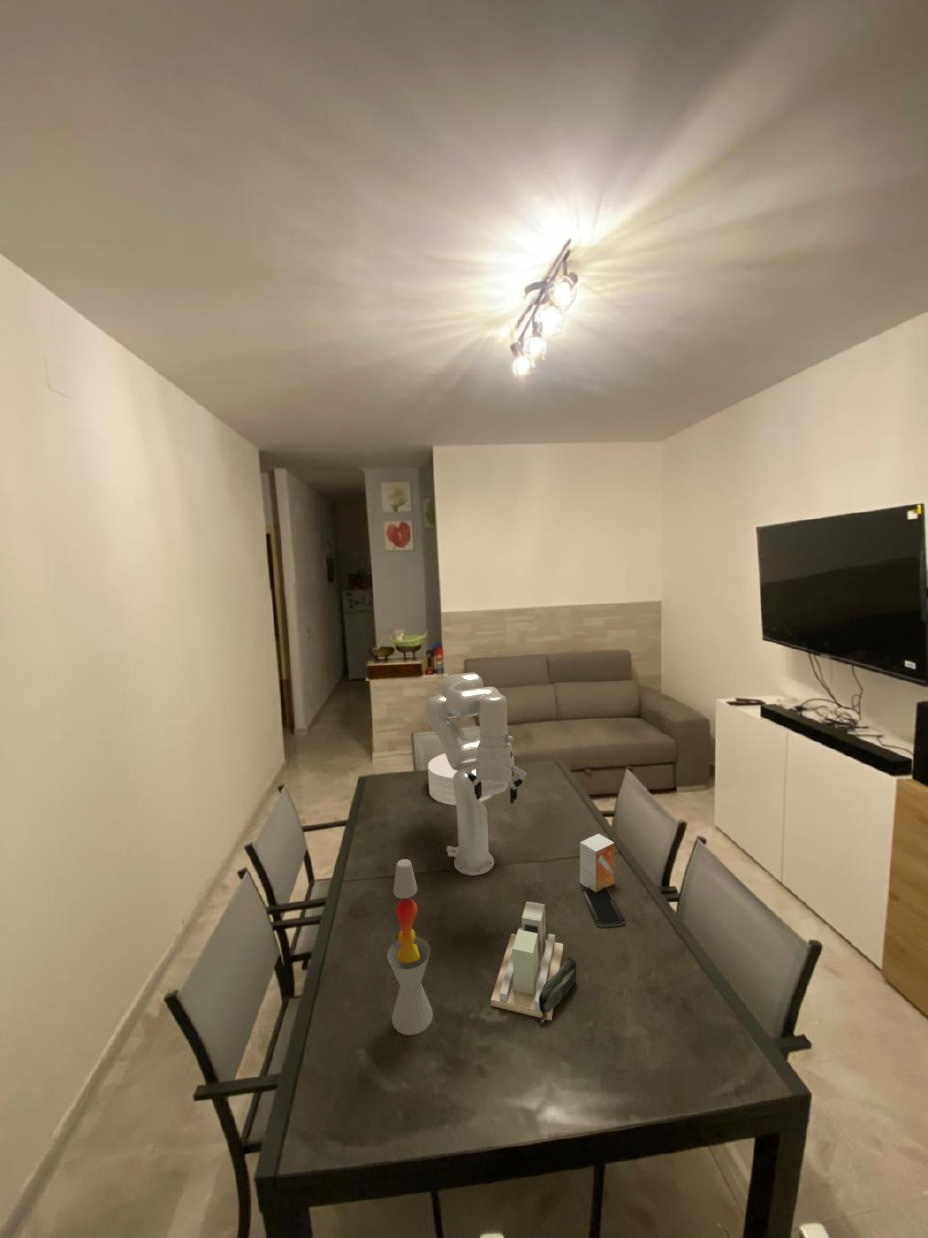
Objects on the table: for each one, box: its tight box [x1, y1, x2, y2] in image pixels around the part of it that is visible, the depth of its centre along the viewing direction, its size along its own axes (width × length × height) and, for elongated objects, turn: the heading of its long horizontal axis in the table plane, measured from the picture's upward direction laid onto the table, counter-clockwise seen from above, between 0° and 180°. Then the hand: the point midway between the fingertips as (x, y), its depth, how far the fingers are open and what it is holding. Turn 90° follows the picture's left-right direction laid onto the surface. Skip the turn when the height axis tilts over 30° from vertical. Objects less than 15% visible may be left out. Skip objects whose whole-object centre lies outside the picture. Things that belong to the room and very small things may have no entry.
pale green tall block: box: [512, 930, 539, 995], centre depth 113 cm, size 4×6×10 cm
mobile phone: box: [539, 957, 577, 1024], centre depth 110 cm, size 5×3×15 cm
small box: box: [579, 833, 615, 892], centre depth 147 cm, size 8×6×13 cm
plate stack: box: [427, 753, 493, 806], centre depth 212 cm, size 28×28×12 cm
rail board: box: [490, 901, 564, 1021], centre depth 116 cm, size 20×13×12 cm, turn 162°
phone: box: [581, 887, 626, 929], centre depth 138 cm, size 8×1×15 cm
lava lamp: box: [386, 858, 434, 1036], centre depth 105 cm, size 9×9×35 cm
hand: (495, 799), depth 139 cm, fingers open, 9 cm apart
